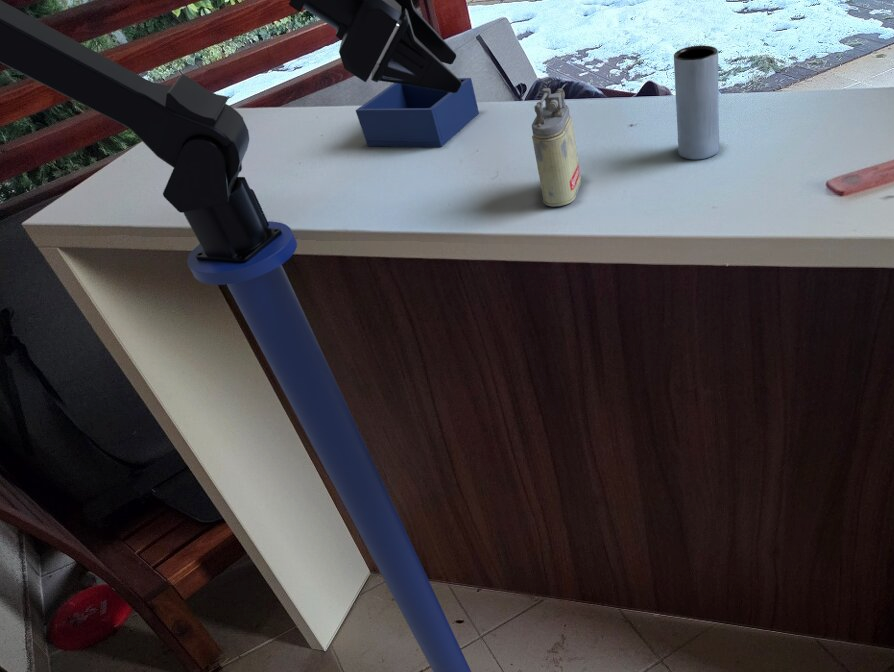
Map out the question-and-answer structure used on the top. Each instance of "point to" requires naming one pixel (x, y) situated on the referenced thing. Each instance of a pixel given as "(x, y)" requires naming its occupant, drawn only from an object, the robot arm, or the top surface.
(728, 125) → the top surface
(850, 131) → the top surface
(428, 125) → the box
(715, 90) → the grey tall cylinder
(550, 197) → the lighter
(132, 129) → the robot arm
